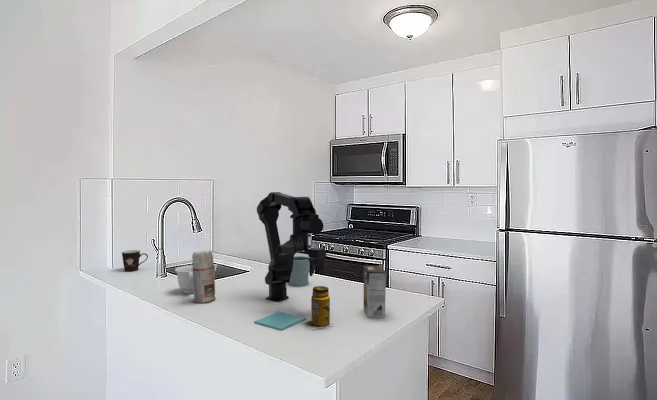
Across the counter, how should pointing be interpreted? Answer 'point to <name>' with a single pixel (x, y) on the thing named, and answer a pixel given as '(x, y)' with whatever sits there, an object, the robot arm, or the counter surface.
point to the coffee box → (374, 291)
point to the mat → (279, 320)
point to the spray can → (203, 276)
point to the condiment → (319, 309)
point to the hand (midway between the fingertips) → (300, 274)
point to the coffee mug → (131, 260)
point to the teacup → (185, 278)
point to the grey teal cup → (300, 271)
